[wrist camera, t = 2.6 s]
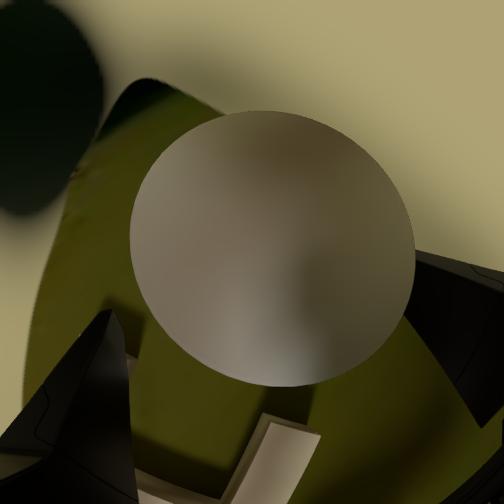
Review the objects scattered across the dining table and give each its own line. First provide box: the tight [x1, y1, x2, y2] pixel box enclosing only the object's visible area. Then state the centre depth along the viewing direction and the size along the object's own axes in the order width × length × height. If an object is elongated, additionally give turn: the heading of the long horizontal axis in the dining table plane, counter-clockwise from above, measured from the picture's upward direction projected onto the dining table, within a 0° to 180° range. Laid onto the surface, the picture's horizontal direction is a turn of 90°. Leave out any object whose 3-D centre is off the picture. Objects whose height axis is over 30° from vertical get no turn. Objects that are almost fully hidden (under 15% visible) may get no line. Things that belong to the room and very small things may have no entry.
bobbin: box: [130, 111, 415, 387], centre depth 11 cm, size 6×6×13 cm
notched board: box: [79, 333, 321, 504], centre depth 12 cm, size 14×11×2 cm
